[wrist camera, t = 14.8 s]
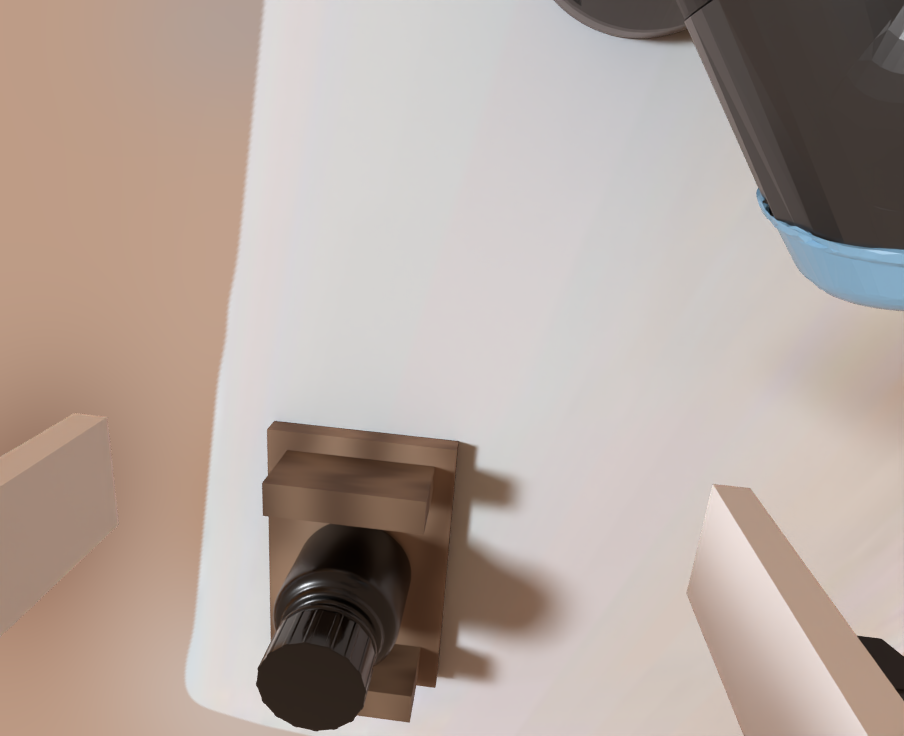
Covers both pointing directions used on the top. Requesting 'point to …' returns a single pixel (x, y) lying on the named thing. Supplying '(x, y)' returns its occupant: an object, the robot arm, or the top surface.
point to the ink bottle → (333, 625)
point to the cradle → (377, 507)
